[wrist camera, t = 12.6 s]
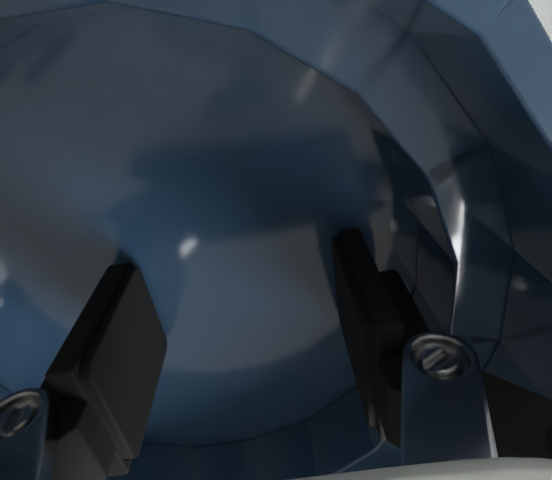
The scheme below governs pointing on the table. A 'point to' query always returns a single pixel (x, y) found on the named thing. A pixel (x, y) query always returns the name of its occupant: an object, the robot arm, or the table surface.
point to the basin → (273, 203)
